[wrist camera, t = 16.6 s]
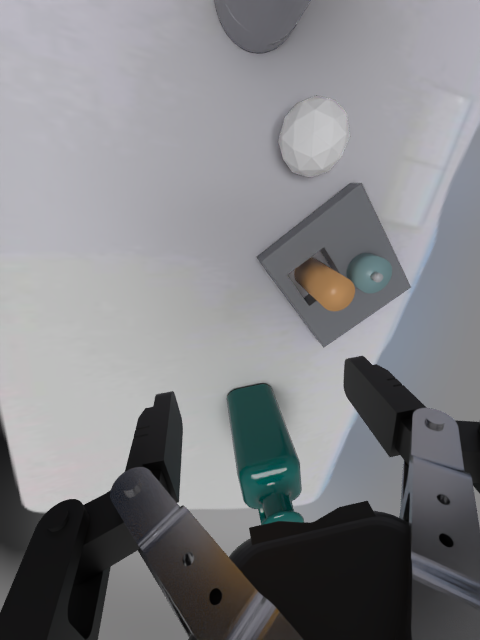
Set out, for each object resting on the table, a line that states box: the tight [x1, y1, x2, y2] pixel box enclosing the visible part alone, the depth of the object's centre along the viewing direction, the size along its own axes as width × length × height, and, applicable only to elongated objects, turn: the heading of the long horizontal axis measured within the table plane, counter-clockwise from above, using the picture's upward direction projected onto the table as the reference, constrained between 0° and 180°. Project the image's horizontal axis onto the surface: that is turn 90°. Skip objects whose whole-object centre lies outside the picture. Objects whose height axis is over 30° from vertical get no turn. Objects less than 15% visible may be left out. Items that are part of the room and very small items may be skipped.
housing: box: [257, 183, 411, 347], centre depth 40 cm, size 18×16×7 cm
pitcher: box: [227, 384, 304, 525], centre depth 43 cm, size 10×8×22 cm
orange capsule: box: [294, 258, 355, 311], centre depth 39 cm, size 4×4×10 cm
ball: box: [278, 95, 350, 178], centre depth 32 cm, size 8×8×8 cm
